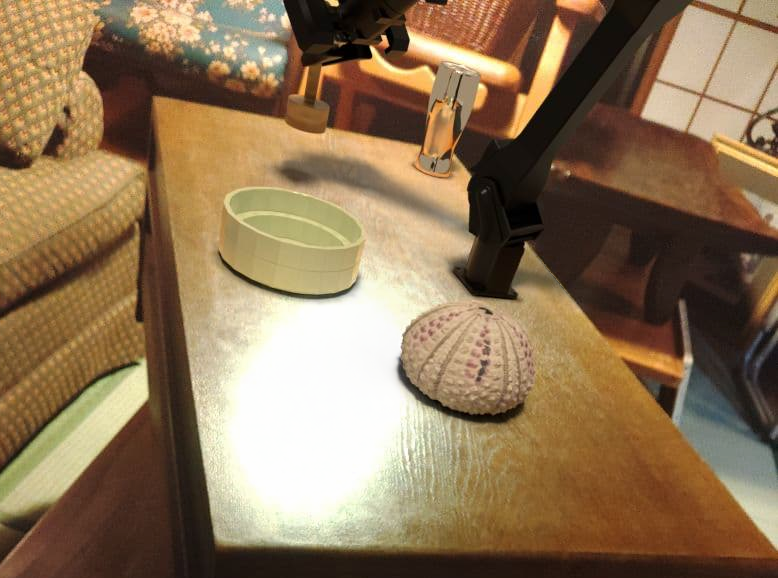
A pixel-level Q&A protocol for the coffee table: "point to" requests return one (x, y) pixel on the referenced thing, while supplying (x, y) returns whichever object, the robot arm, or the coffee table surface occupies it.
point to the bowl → (291, 240)
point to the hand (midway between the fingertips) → (307, 63)
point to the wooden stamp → (308, 105)
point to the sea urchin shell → (469, 357)
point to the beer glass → (447, 116)
